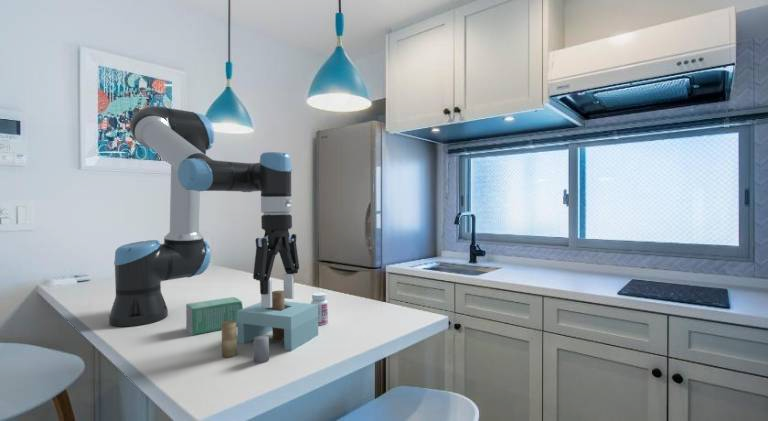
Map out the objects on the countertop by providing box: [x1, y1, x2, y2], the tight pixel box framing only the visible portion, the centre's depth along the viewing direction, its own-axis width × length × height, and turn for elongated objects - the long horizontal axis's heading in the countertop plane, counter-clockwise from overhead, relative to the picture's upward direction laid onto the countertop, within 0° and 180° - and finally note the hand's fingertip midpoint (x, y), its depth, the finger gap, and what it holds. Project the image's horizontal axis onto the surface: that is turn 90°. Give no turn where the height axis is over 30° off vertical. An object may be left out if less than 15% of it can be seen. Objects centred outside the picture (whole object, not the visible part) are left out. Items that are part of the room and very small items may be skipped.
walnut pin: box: [271, 290, 286, 342], centre depth 101 cm, size 3×3×12 cm
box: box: [185, 296, 244, 336], centre depth 112 cm, size 7×14×8 cm, turn 129°
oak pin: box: [221, 321, 238, 359], centre depth 91 cm, size 3×3×8 cm
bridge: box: [236, 300, 319, 352], centre depth 102 cm, size 16×12×8 cm
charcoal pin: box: [253, 335, 270, 364], centre depth 88 cm, size 3×3×5 cm
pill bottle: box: [310, 292, 329, 326], centre depth 114 cm, size 5×5×8 cm
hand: (278, 302), depth 101 cm, fingers open, 8 cm apart
